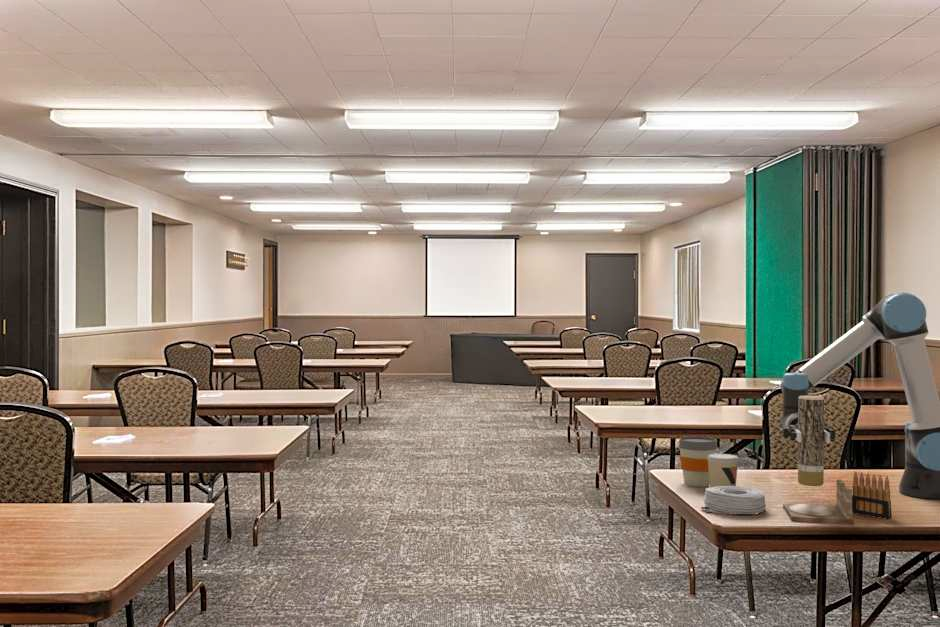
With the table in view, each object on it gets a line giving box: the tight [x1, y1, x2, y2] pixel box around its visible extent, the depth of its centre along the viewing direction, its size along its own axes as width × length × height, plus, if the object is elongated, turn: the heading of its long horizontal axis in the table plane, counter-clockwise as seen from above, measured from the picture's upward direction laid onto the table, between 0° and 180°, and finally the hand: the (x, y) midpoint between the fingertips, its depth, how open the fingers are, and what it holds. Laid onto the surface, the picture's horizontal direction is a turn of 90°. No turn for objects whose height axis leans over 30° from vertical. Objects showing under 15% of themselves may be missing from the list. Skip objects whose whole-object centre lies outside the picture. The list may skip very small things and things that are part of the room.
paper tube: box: [797, 395, 825, 487], centre depth 236 cm, size 7×7×25 cm
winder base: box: [782, 479, 855, 525], centre depth 235 cm, size 16×16×9 cm
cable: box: [700, 485, 767, 515], centre depth 244 cm, size 18×18×6 cm
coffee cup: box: [707, 453, 739, 488], centre depth 264 cm, size 9×9×12 cm
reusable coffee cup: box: [678, 436, 718, 487], centre depth 279 cm, size 13×13×15 cm
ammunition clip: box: [852, 471, 893, 520], centre depth 235 cm, size 11×2×12 cm, turn 40°
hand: (814, 437), depth 231 cm, fingers closed on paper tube, 7 cm apart
